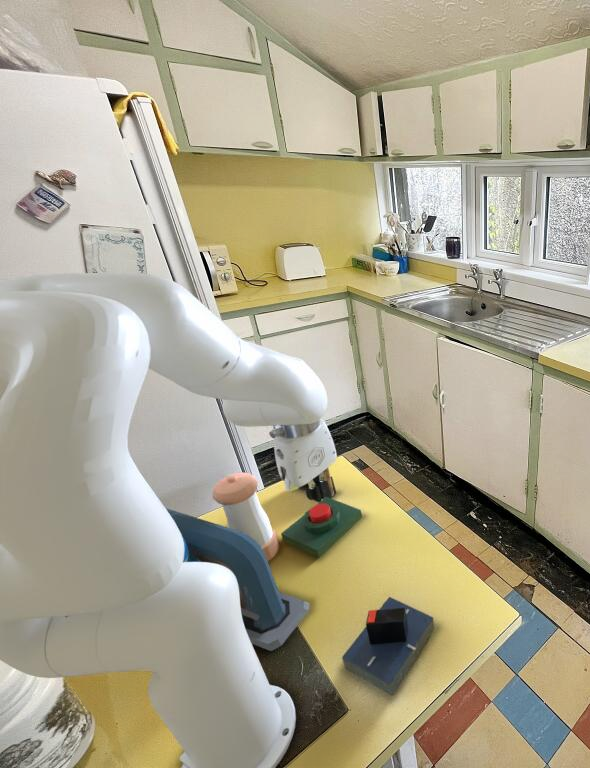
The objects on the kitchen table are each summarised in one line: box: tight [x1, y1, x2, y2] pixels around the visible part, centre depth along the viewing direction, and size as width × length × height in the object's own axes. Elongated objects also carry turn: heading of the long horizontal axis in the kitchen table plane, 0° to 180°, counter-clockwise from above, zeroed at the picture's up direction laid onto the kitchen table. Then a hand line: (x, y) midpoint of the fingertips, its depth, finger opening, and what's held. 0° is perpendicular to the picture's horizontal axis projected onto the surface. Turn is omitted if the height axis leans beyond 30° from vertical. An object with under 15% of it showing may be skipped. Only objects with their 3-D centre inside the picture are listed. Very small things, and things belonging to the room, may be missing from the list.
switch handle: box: [365, 608, 408, 645], centre depth 63 cm, size 6×2×5 cm, turn 96°
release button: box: [309, 503, 331, 523], centre depth 86 cm, size 4×4×2 cm
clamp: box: [165, 507, 311, 652], centre depth 68 cm, size 35×9×21 cm, turn 73°
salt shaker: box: [211, 472, 280, 562], centre depth 78 cm, size 7×7×19 cm
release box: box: [280, 497, 363, 559], centre depth 87 cm, size 12×10×4 cm
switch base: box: [341, 596, 435, 696], centre depth 65 cm, size 11×10×3 cm
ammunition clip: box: [298, 467, 337, 499], centre depth 95 cm, size 11×2×12 cm, turn 71°
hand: (317, 497), depth 84 cm, fingers closed
